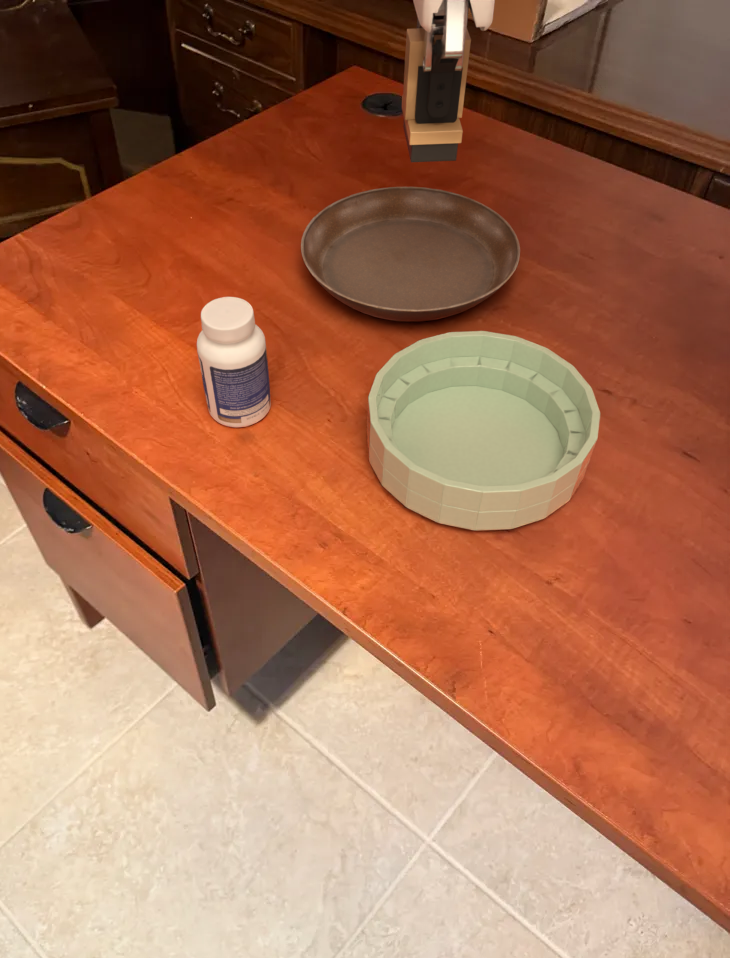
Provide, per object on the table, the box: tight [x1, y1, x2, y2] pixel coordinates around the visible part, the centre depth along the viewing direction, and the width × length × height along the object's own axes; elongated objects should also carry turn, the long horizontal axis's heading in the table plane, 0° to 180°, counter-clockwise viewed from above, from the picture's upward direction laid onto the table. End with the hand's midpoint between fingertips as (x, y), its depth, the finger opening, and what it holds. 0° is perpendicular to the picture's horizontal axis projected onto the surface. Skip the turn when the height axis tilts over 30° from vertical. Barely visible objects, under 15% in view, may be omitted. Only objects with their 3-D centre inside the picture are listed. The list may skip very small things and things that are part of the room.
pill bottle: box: [196, 296, 272, 428], centre depth 66 cm, size 5×5×10 cm
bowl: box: [366, 330, 601, 532], centre depth 64 cm, size 17×17×5 cm
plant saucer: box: [300, 186, 521, 322], centre depth 79 cm, size 21×21×3 cm
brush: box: [401, 28, 472, 163], centre depth 63 cm, size 6×4×8 cm
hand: (433, 110), depth 64 cm, fingers closed on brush, 2 cm apart
